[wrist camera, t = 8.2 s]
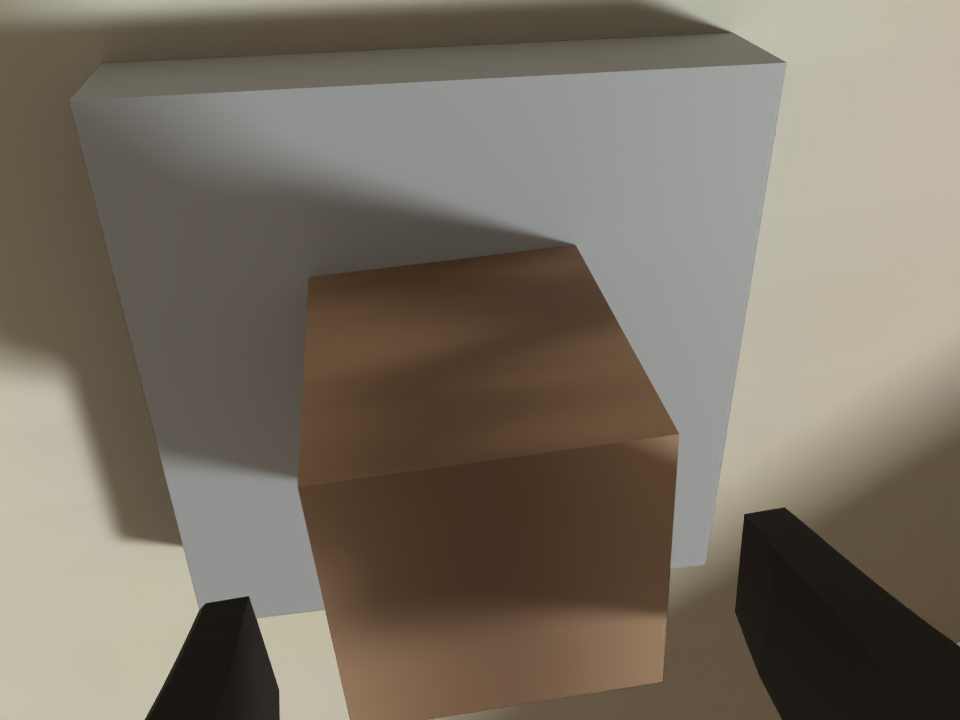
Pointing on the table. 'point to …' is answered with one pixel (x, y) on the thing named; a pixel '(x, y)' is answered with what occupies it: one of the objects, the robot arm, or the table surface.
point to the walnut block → (483, 486)
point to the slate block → (414, 239)
